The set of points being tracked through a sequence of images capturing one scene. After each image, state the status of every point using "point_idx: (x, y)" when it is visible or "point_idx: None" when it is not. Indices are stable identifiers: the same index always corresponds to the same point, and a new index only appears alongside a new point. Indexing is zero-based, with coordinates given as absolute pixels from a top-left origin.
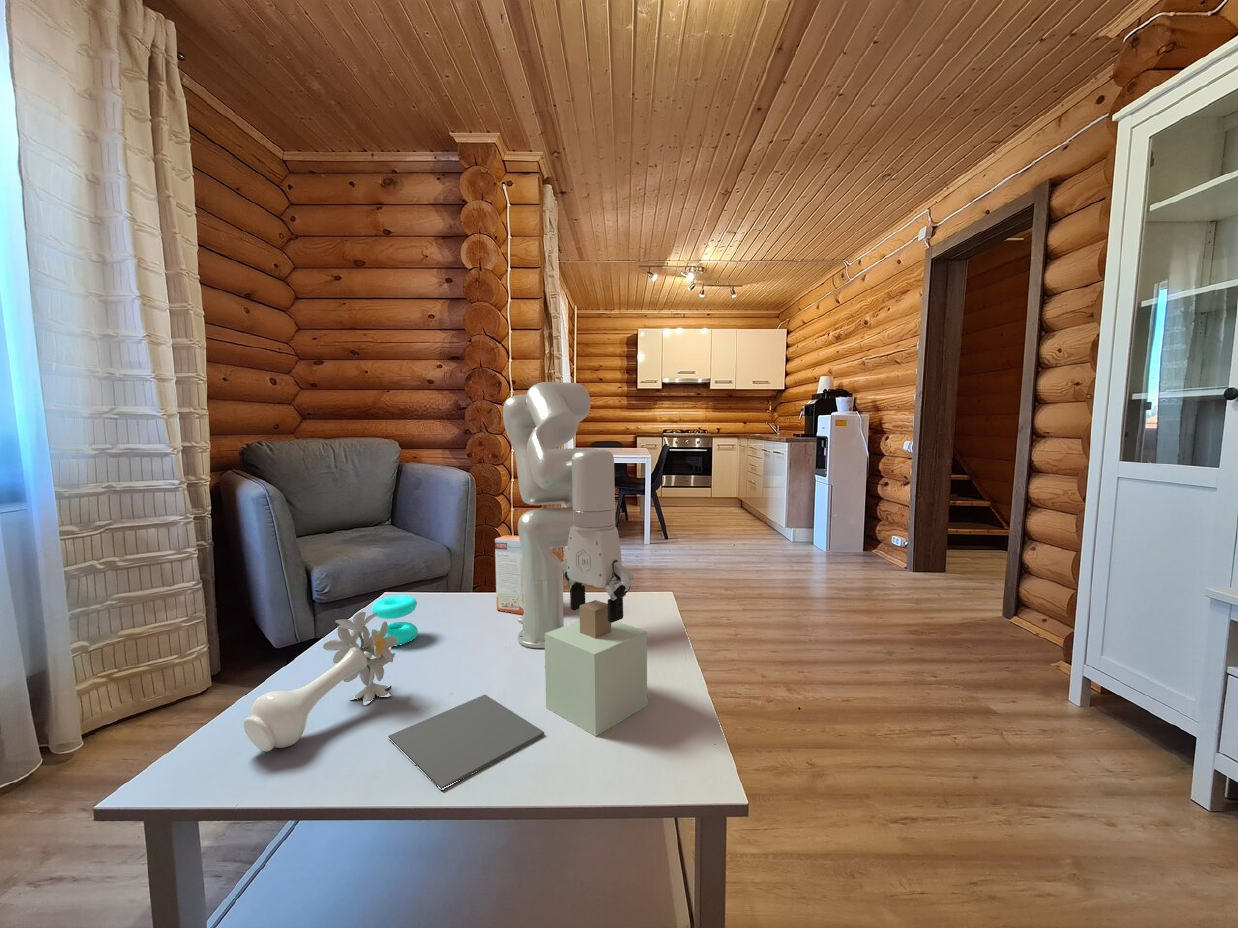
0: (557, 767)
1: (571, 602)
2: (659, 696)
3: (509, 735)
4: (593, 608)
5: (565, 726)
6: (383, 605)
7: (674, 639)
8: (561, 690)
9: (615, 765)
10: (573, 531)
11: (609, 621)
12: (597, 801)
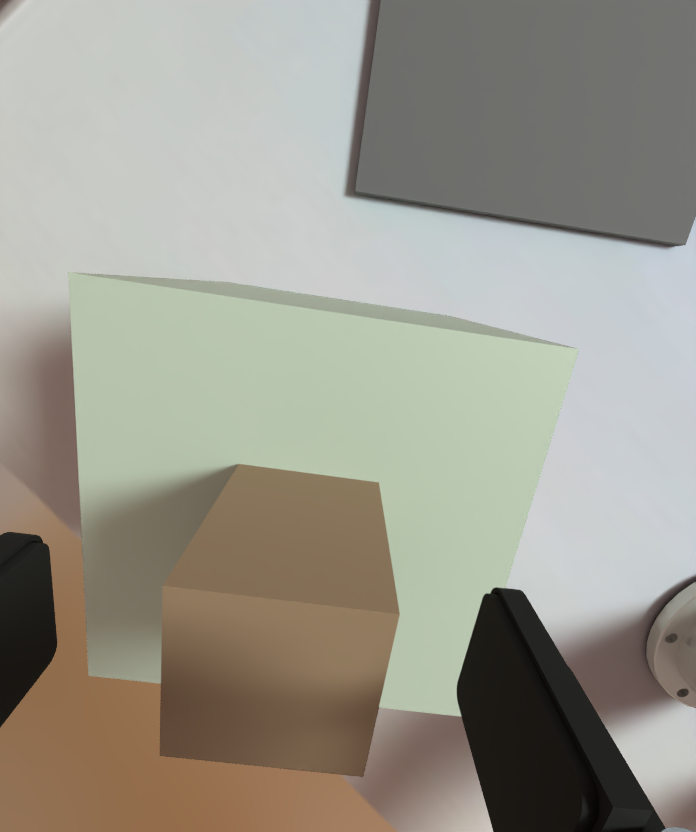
0: (209, 86)
1: (535, 639)
2: None
3: (436, 102)
4: (218, 619)
5: (333, 271)
6: None
7: (368, 790)
8: (382, 308)
9: (91, 202)
10: None
11: (15, 533)
12: (14, 32)
